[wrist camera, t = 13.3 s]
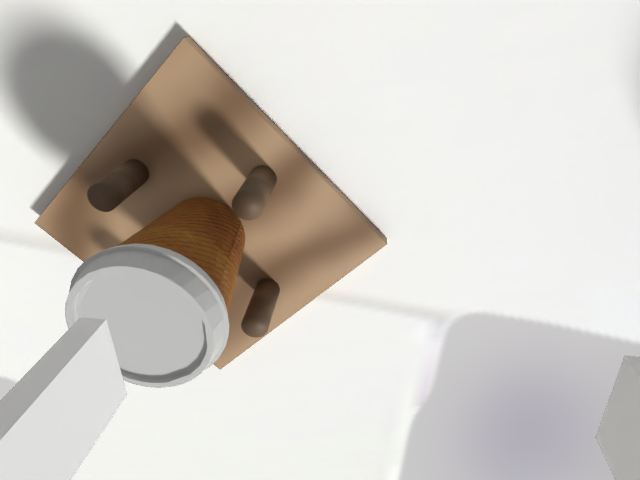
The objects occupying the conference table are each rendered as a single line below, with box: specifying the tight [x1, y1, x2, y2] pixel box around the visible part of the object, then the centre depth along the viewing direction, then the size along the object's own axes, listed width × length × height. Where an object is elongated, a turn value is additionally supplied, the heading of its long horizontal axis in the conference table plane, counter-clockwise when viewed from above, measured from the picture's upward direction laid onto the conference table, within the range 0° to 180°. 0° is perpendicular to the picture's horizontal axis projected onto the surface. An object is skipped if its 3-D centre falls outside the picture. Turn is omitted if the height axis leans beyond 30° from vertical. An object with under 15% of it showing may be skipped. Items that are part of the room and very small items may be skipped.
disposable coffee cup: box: [65, 197, 245, 388], centre depth 32 cm, size 10×10×12 cm
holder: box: [35, 37, 387, 369], centre depth 35 cm, size 20×20×6 cm
